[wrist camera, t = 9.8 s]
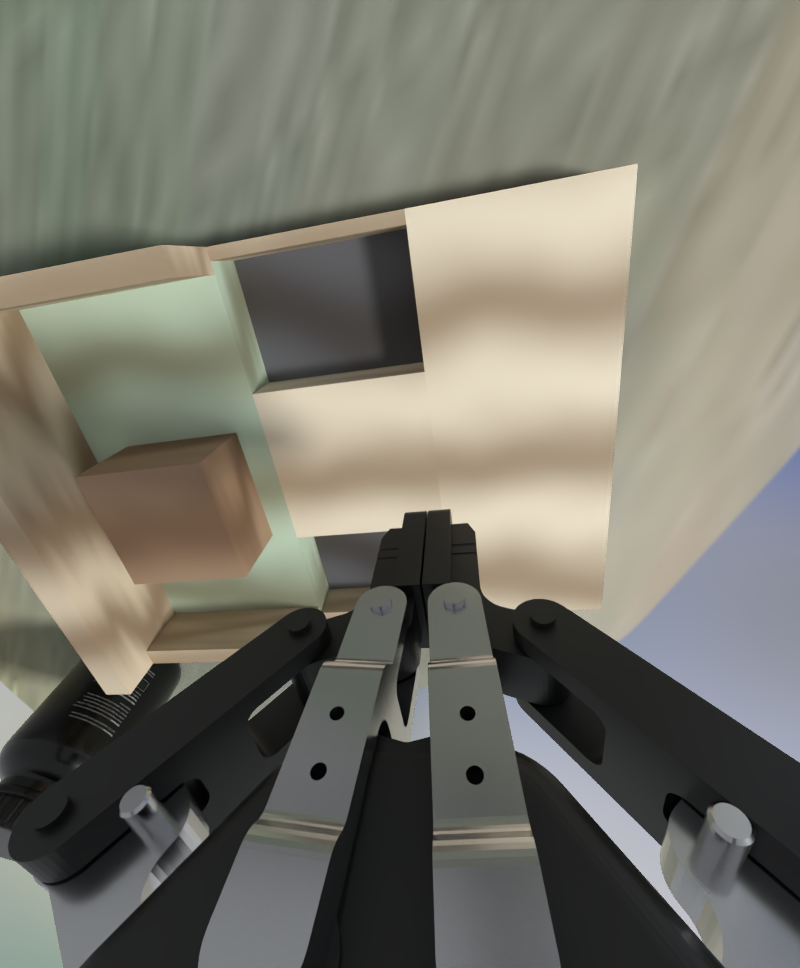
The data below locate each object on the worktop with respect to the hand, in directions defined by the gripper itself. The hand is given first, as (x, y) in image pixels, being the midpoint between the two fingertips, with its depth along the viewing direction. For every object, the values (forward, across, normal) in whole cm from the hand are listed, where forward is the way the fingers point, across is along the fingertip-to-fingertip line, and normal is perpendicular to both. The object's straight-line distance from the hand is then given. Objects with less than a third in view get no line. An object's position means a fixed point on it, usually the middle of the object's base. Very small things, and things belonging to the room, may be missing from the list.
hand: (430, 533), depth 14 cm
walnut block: (+7, +12, +1) cm, 14 cm away
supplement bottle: (+9, +25, +16) cm, 31 cm away
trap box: (+9, +6, 0) cm, 11 cm away
